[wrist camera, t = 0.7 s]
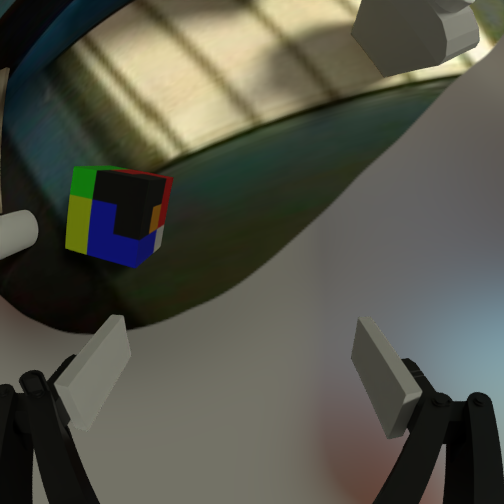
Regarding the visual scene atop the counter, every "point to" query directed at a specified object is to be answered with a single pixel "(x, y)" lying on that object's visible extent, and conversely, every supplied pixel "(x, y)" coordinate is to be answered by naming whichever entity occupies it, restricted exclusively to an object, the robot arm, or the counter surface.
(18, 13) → the counter surface
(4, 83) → the board
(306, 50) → the counter surface
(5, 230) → the can
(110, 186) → the puzzle toy
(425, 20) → the soap bottle
